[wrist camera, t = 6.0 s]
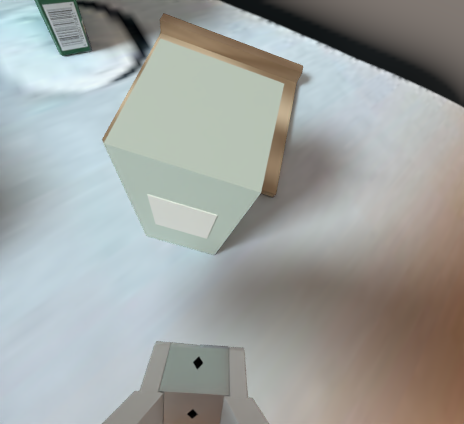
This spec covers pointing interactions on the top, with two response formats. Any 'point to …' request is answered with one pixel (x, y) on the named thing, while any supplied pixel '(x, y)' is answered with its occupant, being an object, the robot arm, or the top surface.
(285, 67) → the board
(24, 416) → the top surface
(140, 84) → the pale green box
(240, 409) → the robot arm
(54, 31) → the coffee box
